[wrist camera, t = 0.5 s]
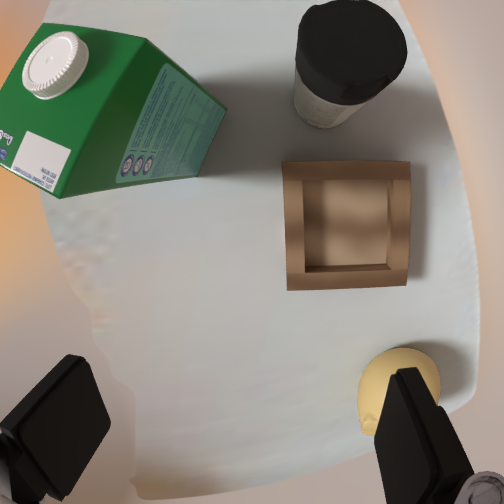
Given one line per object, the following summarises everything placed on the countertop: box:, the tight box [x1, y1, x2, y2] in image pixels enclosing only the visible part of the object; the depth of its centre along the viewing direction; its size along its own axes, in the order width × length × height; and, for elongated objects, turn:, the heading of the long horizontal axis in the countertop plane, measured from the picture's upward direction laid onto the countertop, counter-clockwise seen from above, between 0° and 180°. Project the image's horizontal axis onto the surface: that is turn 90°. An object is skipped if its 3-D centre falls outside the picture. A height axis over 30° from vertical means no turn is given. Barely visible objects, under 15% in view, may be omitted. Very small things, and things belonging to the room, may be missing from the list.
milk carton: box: [0, 23, 227, 199], centre depth 24 cm, size 9×9×25 cm
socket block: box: [282, 161, 411, 291], centre depth 35 cm, size 14×14×4 cm
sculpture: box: [358, 348, 441, 436], centre depth 36 cm, size 11×12×11 cm
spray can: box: [294, 0, 407, 128], centre depth 24 cm, size 7×7×20 cm
